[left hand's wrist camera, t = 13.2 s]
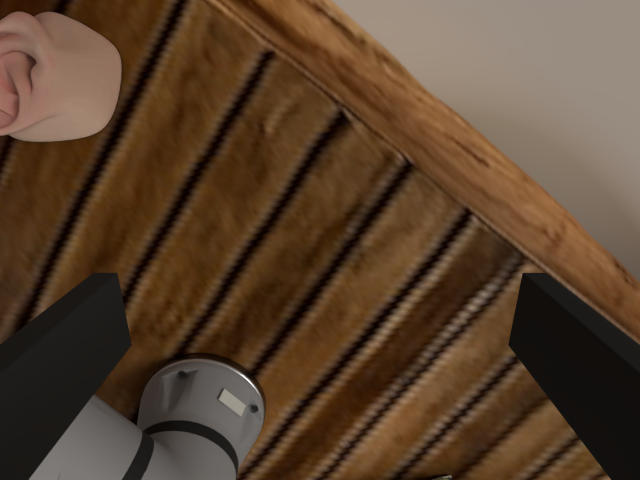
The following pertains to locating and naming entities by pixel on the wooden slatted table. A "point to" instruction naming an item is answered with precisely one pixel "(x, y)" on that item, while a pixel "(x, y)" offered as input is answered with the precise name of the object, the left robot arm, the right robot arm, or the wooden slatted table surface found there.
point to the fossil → (443, 478)
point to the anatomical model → (55, 78)
